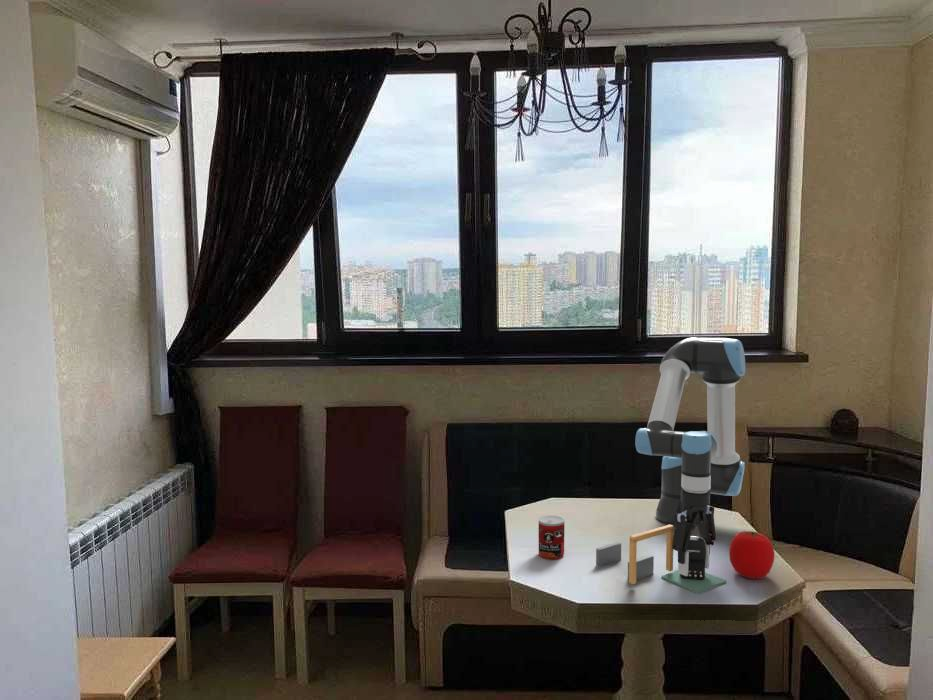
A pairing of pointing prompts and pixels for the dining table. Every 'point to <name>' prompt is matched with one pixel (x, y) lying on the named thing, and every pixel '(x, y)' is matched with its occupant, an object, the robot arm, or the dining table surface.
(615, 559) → the clip
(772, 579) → the dining table surface
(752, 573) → the tomato
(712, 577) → the mat
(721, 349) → the robot arm
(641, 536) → the arched handle
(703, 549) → the battery charger
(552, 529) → the canned food
